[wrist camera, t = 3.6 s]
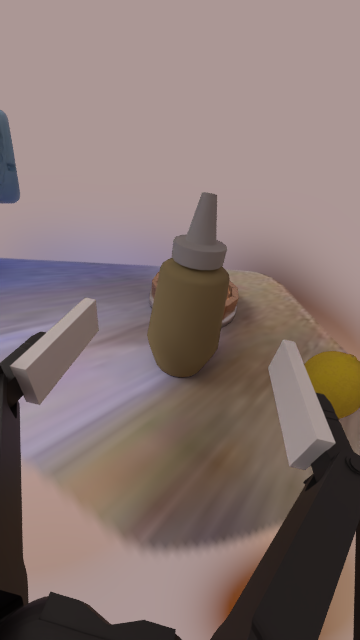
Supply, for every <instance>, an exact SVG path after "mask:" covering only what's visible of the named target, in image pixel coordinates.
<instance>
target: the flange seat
mask: <svg viewBox="0 0 360 640" xmlns="http://www.w3.org/2000/svg"><path fill="white" fill-rule="evenodd" d="M158 277H159V272H158V273H157V274H156V276H155V277H154V279H153V280H152V289H151V291H150V298H149V302H150V306H151V308H153V303H154V298H155V293H156V287H157V282H158ZM238 298H239V297H238V288H237V287H236V286H235V285H234V284H233V283H232V282H230V281H229V286H228V292H227V297H226V303H225V309H224V314H223V320H222V326H221V327H224V326H226V325H227V324H229V323H230V322H231V321H232V320H233V318H234V316H235V313H236V310H237V305H236V304H237V301H238Z"/></svg>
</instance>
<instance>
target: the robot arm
mask: <svg viewBox="0 0 360 640" xmlns="http://www.w3.org/2000/svg"><path fill="white" fill-rule="evenodd" d="M19 198H20V190H19V184H18V177H17V171H16V165H15V159H14V152H13V146H12V140H11V135H10V128H9V123H8V118H7V116H6V114H5V113H4V112H3V111H2V110H0V203H15V202H17V201H18V200H19ZM98 331H99V328H98V319H97V309H96V300H94V299H89V298H84V299H83V300H82V301H81V302H80V303H79V304H78V305H77V306H76V307H74V308H73V309H72V310H71V311H70V312H69V313H68V314H67V315H66V316H64V317H63V318H62V319H61V320H60V321H59V322H58V323H57V324H56V325H55V326H53V327H52V328H51V329H50V330H49V331H48V332H47V333H45V332H39V333H37V334H35V335H33V336H31V337H30V338H29V339H28V340H27V341H25V343H23V344H22V345H21V346H20V347H19V348H17V349H16V350H15V351H14V352H13V353H11V354H10V355H9V356H8V357H7V358H6V359H4V360H3V361H2V362H1V363H0V640H181V638H180V637H179V636H177V635H176V634H175V629H172V628H169V627H166V626H162V625H159V624H156V623H152V622H149V621H146V620H141V621H134V622H127V623H120V624H114V625H112V624H110V623H109V622H108V621H106V620H105V619H104V618H103V617H102V616H101V615H100V614H98V613H97V612H96V611H95V610H94V609H93V608H92V607H91V606H90V605H88V604H86V603H84V602H82V601H79V600H76V599H73V598H69V597H66V596H63V595H59V594H56V593H53V592H50V594H49V596H47V597H43V598H40V599H37V600H35V601H32V602H31V603H28V581H27V573H26V568H25V565H24V561H23V543H22V501H21V500H22V497H21V452H20V407H19V402H18V400H19V399H20V398H21V397H22V396H24V398H25V400H26V402H30V403H34V404H38V405H40V404H41V403H42V401H43V400H44V399H45V398H46V396H47V395H48V394H49V392H50V391H51V390H52V389H53V387H54V386H55V385H56V384H57V382H58V381H59V380H60V379H61V377H62V376H63V375H64V374H65V372H66V371H67V370H68V369H69V367H70V366H71V365H72V363H73V362H74V361H75V360H76V358H77V357H78V356H79V355H80V353H81V352H82V351H83V350H84V348H85V347H86V346H87V345H88V343H89V342H90V341H91V339H92V338H93V337H94V336H95V334H96V333H97V332H98ZM268 369H269V374H270V379H271V383H272V388H273V393H274V397H275V402H276V406H277V411H278V416H279V420H280V425H281V430H282V434H283V439H284V444H285V448H286V453H287V458H288V462H289V466H290V467H294V468H298V469H302V470H306V469H307V468H308V467H309V466H310V465H311V466H312V470H313V473H314V474H313V475H311V476H310V477H309V478H308V479H306V480H305V481H304V482H303V483H304V484H306V485H305V487H304V488H303V490H302V492H301V493H300V495H299V497H298V498H297V500H296V502H295V504H294V505H293V507H292V509H291V510H290V512H289V514H288V515H287V517H286V519H285V521H284V522H283V524H282V526H281V527H280V529H279V531H278V532H277V534H276V536H275V538H274V539H273V541H272V543H271V544H270V546H269V548H268V550H267V551H266V553H265V555H264V556H263V558H262V560H261V561H260V563H259V565H258V567H257V568H256V570H255V571H254V573H253V575H252V577H251V578H250V580H249V582H248V583H247V585H246V587H245V589H244V590H243V592H242V594H241V595H240V597H239V599H238V600H237V602H236V604H235V606H234V607H233V609H232V611H231V612H230V614H229V615H228V617H227V618H226V620H225V621H224V622H223V623H222V625H221V626H220V627H219V628H218V629H217V631H216V632H215V633H214V635H213V636H212V638H211V639H210V640H318V638H319V635H320V632H321V629H322V626H323V624H324V621H325V618H326V615H327V612H328V609H329V606H330V603H331V600H332V598H333V595H334V592H335V589H336V586H337V583H338V580H339V577H340V575H341V572H342V569H343V566H344V563H345V560H346V557H347V555H348V552H349V548H350V546H351V543H352V540H353V537H354V534H355V532H356V554H355V556H356V557H355V597H354V638H353V640H360V456H359V455H358V454H356V453H354V452H353V450H352V448H351V446H350V444H349V441H348V439H347V437H346V435H345V433H344V430H343V428H342V426H341V424H340V422H339V419H338V417H337V415H336V414H335V410H334V408H333V406H332V404H331V402H330V401H329V400H328V399H327V398H326V396H325V395H324V394H320V393H316V392H315V391H314V388H313V386H312V383H311V381H310V378H309V376H308V373H307V371H306V368H305V366H304V363H303V361H302V358H301V356H300V353H299V351H298V348H297V346H296V343H295V342H293V341H288V340H284V339H283V341H282V343H281V345H280V346H279V348H278V350H277V352H276V354H275V356H274V358H273V359H272V361H271V363H270V365H269V367H268Z"/></svg>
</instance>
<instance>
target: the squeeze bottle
mask: <svg viewBox="0 0 360 640" xmlns="http://www.w3.org/2000/svg"><path fill="white" fill-rule="evenodd" d="M216 215H217V195H215V194H210V193H202V195H201V197H200V200H199V203H198V206H197V209H196V211H195V214H194V217H193V220H192V222H191V225H190V228H189V231H188V233H187V235H180V236H177V237H175V239H174V241H173V250H172V258H170V259H168V260H167V261H165V262H163V264H162V265H161V267H160V272H159V277H158V282H157V287H156V293H155V298H154V303H153V308H152V313H151V318H150V324H149V329H148V334H147V336H148V340H149V345H150V347H151V350H152V353H153V355H154V358H155V361H156V363H157V365H158V366H159V367H160V369H161V370H162V371H164V372H165V373H167V374H169V375H171V376H176V377H188V376H192V375H194V374H195V373H197V372H199V370H200V369H201V368H202V367H203V366H204V365H205V364H206V363H207V361H208V360H209V359H210V358H211V357H212V356H213V354H214V353H215V351H216V350H217V348H218V343H219V337H220V331H221V326H222V320H223V314H224V309H225V303H226V297H227V292H228V286H229V274H228V273H227V271H226V270H225V269H224V268H223V267H222V266H223V263H224V258H225V254H226V251H227V247H226V245H225V244H223V243H222V242H220V241H218V240H216V220H217V219H216V218H217V216H216Z"/></svg>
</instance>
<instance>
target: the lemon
mask: <svg viewBox="0 0 360 640" xmlns="http://www.w3.org/2000/svg"><path fill="white" fill-rule="evenodd" d="M304 366H305V368H306V371H307V373H308V376H309V378H310V381H311V383H312V386H313V388H314V391H315V392H316V393H320V394H324V395H325V396H326V398H327V399H328V400H329V401H330V402H331V404H332V406H333V408H334V410H335V414H336V415H337V417H338V419H340V418H343V417H346V416H348V415H350V414H352V413H354V412H355V411H356V410H358V409H359V407H360V361H358V360H357V358H356V357H355V356H354V355H351V354H346V353H343V352H337V351H329V352H323V353H320V354H317V355H315V356H314V357H312V358H311V359H309V360H308V361H307V362H306V363H305V364H304Z"/></svg>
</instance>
